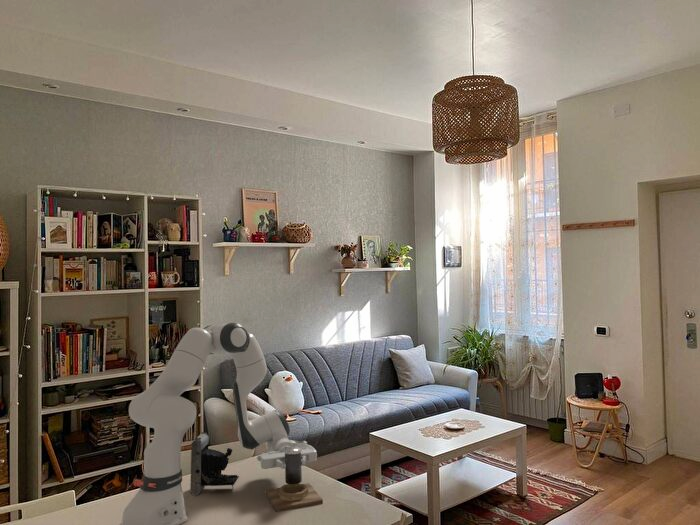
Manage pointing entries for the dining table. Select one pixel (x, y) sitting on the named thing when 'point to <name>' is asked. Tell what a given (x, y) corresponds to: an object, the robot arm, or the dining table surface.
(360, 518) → the dining table surface
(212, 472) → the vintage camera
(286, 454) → the canister
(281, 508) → the mount
